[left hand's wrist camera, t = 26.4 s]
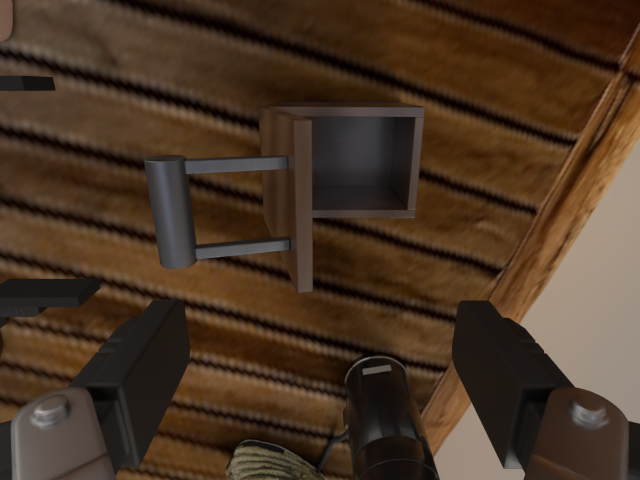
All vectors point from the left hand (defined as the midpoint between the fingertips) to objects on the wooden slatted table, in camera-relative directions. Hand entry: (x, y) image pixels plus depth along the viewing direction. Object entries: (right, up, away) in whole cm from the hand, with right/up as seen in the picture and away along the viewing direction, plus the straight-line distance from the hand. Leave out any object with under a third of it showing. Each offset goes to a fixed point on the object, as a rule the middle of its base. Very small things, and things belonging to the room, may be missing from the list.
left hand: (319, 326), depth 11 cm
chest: (+2, +13, +34) cm, 37 cm away
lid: (-2, +7, +17) cm, 19 cm away
